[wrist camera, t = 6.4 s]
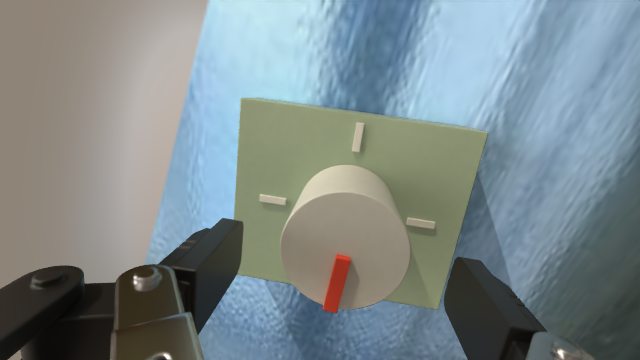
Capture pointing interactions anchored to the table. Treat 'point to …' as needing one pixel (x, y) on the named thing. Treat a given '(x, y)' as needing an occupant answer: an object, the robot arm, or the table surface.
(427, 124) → the dial panel
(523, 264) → the table surface
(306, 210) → the dial
